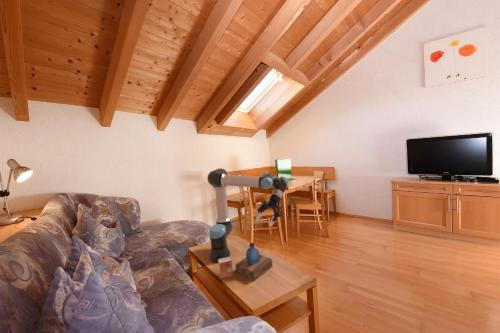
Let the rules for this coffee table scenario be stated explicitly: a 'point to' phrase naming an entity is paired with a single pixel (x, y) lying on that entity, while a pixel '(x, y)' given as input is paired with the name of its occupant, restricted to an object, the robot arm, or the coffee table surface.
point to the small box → (225, 267)
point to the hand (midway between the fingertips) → (263, 223)
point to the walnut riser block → (254, 267)
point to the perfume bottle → (252, 254)
